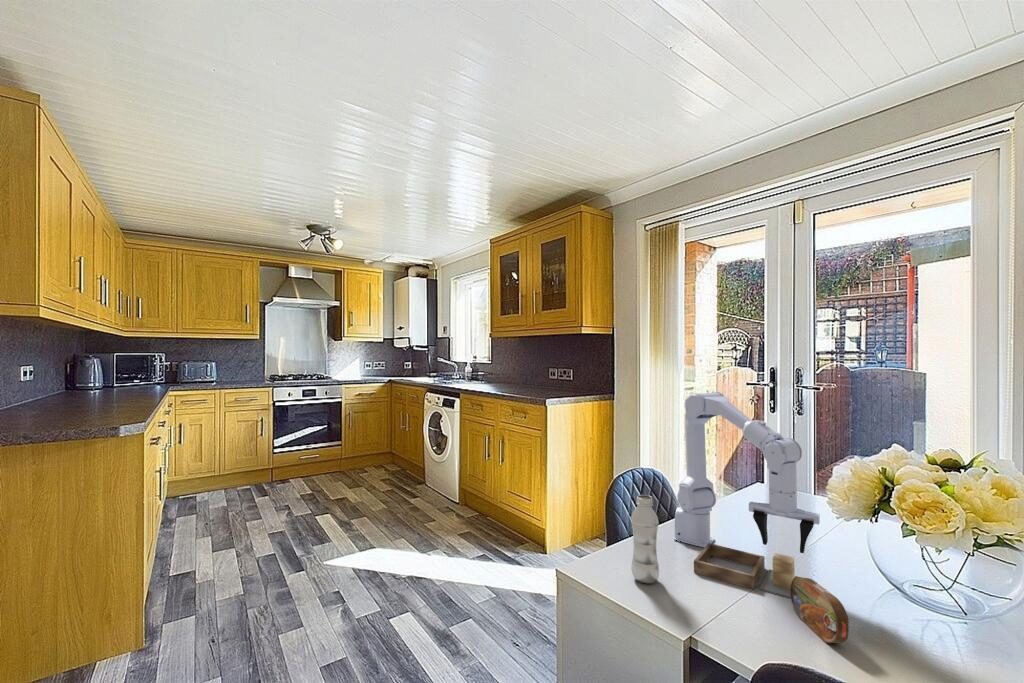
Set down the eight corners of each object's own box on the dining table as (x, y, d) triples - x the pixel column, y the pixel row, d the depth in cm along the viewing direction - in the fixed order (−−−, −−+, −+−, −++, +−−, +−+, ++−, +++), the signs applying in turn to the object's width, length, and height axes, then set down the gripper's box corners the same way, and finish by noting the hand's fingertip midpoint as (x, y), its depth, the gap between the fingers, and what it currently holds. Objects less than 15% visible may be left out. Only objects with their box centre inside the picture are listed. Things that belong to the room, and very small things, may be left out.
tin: (789, 608, 100) (788, 569, 100) (803, 608, 100) (803, 569, 100) (835, 653, 85) (834, 607, 85) (853, 654, 85) (852, 607, 85)
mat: (760, 589, 108) (760, 588, 108) (769, 570, 117) (769, 569, 117) (800, 601, 103) (800, 599, 103) (806, 580, 112) (806, 578, 112)
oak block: (772, 584, 109) (772, 558, 109) (775, 578, 112) (775, 553, 113) (792, 589, 107) (792, 563, 107) (794, 583, 110) (794, 557, 110)
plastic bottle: (645, 589, 108) (644, 503, 108) (625, 577, 114) (625, 495, 114) (665, 583, 111) (664, 499, 111) (645, 571, 117) (644, 491, 117)
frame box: (693, 572, 116) (693, 560, 116) (708, 554, 127) (708, 543, 127) (754, 589, 108) (753, 576, 108) (764, 568, 118) (764, 556, 118)
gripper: (745, 488, 112) (746, 545, 111) (817, 500, 103) (818, 561, 103) (751, 481, 117) (752, 535, 117) (820, 492, 108) (820, 551, 108)
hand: (783, 547), depth 110 cm, fingers open, 7 cm apart
